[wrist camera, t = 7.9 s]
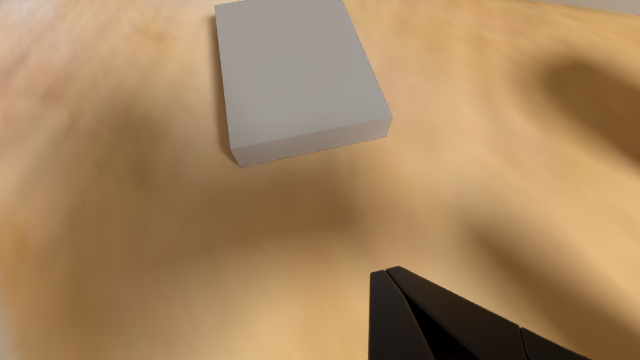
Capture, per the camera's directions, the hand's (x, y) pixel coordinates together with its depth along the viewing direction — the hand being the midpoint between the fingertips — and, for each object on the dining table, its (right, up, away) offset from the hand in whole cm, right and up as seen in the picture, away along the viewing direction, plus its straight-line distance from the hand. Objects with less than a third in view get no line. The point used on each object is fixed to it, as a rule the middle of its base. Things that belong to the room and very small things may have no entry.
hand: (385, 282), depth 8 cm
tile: (-2, +5, +11) cm, 12 cm away
